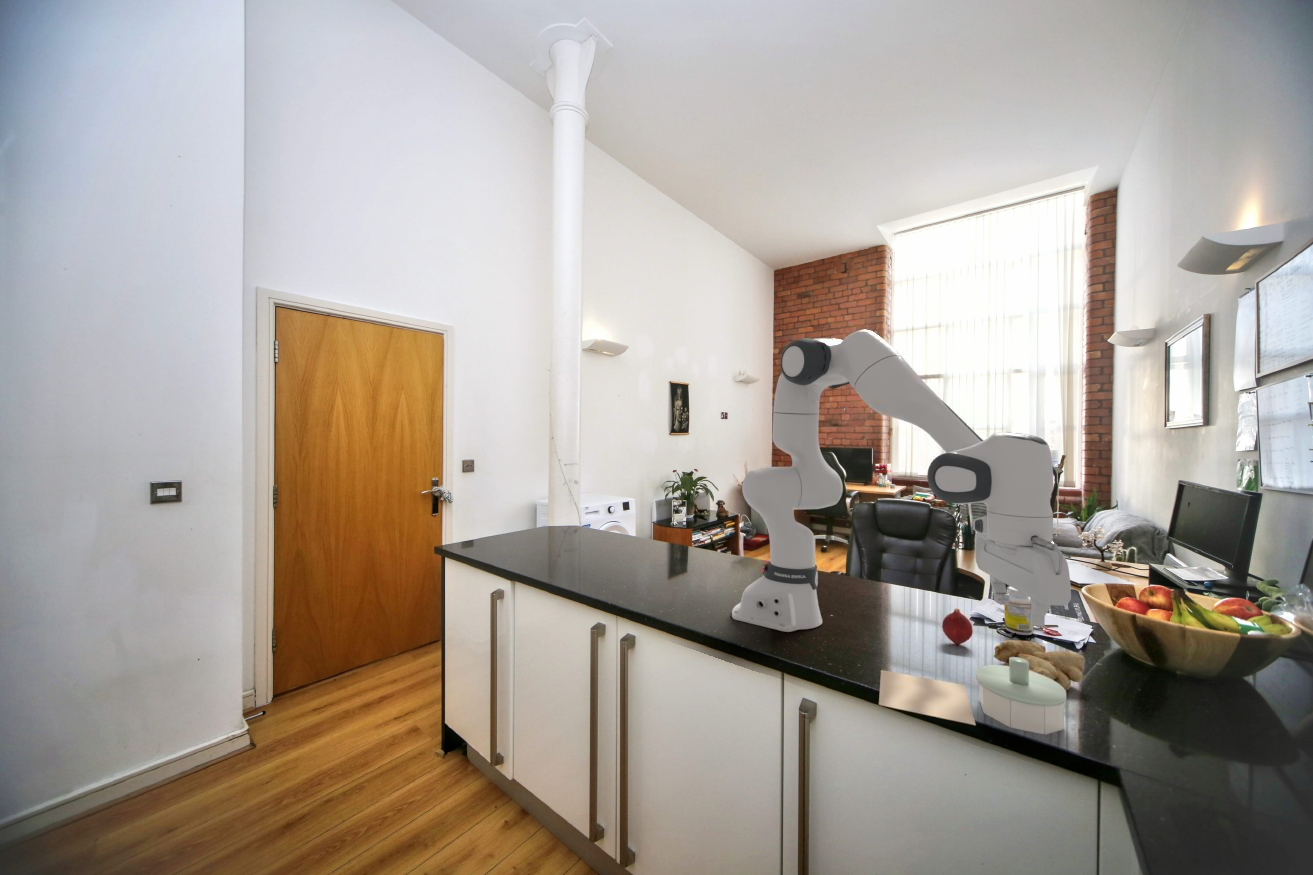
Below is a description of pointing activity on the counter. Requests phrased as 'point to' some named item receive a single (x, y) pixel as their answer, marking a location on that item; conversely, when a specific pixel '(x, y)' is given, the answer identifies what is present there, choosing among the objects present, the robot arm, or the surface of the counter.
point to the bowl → (1022, 713)
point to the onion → (957, 627)
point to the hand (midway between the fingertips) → (1017, 613)
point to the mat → (925, 697)
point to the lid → (1020, 683)
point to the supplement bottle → (1018, 613)
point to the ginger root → (1044, 661)
